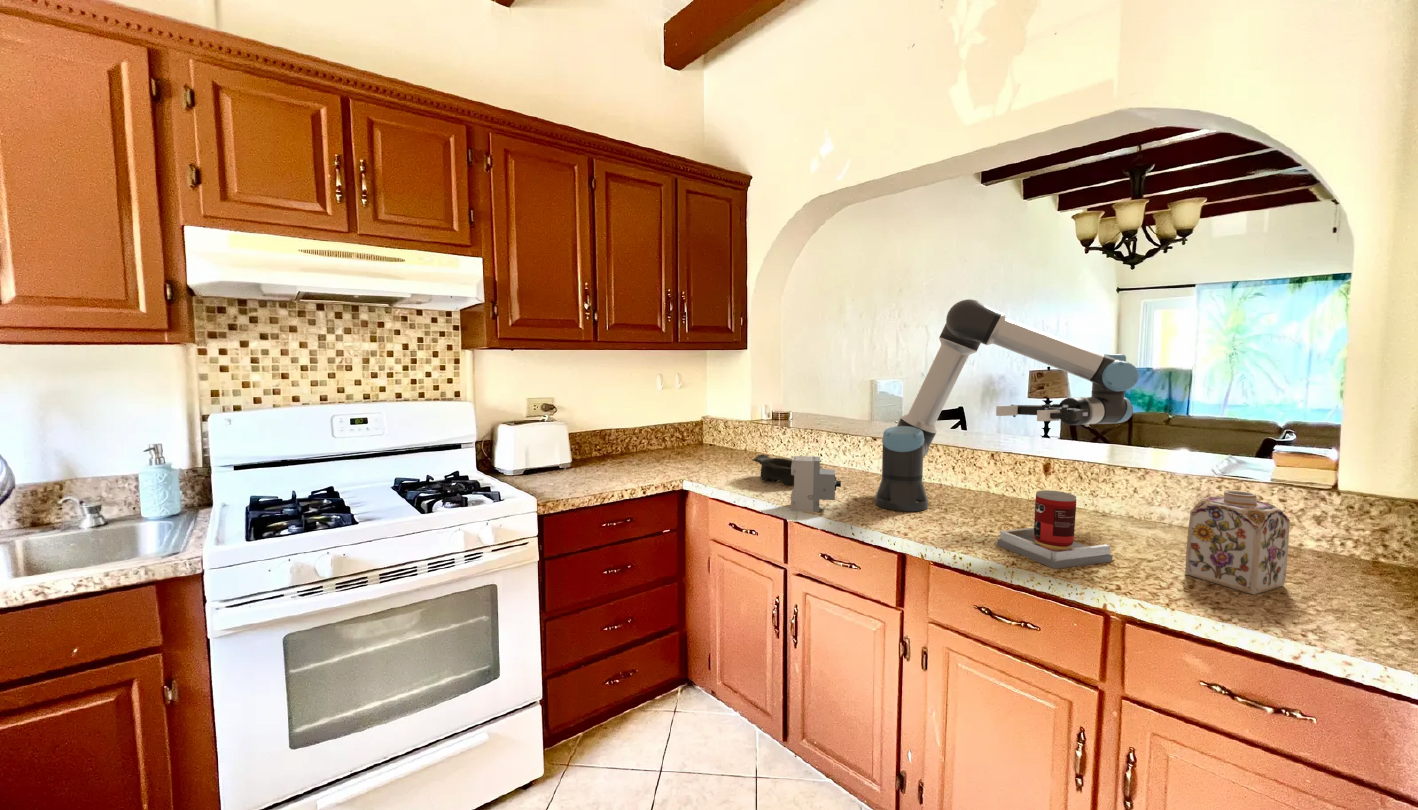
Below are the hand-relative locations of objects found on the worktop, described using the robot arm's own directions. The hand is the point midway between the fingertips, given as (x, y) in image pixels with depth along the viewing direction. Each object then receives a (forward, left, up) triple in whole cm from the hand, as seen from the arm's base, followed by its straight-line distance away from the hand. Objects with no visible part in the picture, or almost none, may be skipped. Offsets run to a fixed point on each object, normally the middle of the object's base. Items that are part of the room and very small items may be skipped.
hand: (1016, 413), depth 150 cm
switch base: (+3, -22, -30) cm, 38 cm away
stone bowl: (-64, +40, -30) cm, 81 cm away
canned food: (+3, -22, -27) cm, 36 cm away
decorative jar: (+33, -31, -30) cm, 55 cm away
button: (+3, -22, -30) cm, 37 cm away
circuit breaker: (-52, +4, -30) cm, 60 cm away
